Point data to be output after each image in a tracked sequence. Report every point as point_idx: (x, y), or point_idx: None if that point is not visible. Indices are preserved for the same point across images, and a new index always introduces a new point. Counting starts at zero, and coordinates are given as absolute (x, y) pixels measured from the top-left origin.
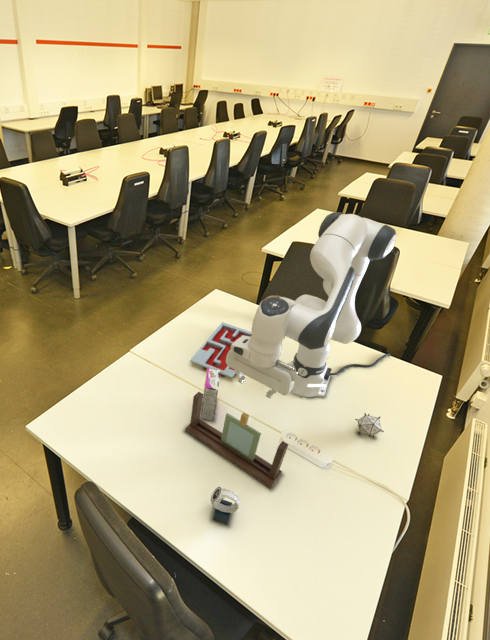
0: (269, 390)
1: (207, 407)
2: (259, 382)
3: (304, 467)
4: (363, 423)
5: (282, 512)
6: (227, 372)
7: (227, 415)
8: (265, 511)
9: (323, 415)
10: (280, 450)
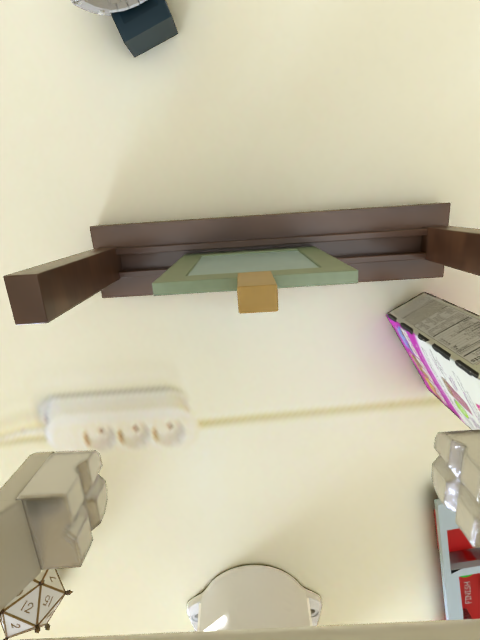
0: (66, 553)
1: (442, 317)
2: (146, 636)
3: (80, 365)
4: (32, 595)
5: (24, 180)
6: None
7: (347, 270)
8: (58, 141)
9: (150, 549)
10: (27, 271)
